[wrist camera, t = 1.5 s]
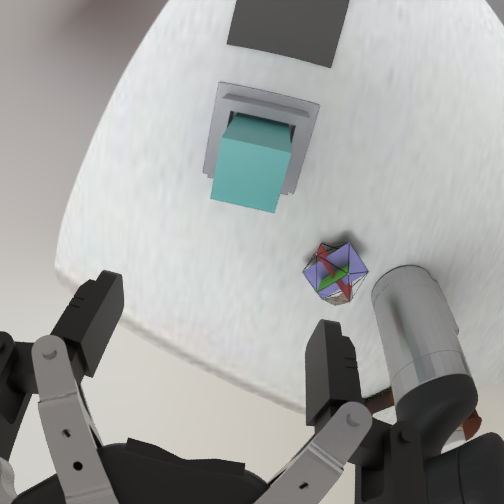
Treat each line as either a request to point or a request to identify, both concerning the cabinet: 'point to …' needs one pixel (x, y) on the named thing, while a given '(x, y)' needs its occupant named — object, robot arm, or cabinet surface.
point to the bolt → (379, 402)
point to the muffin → (471, 425)
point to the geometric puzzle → (335, 273)
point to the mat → (290, 27)
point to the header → (266, 106)
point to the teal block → (252, 162)
